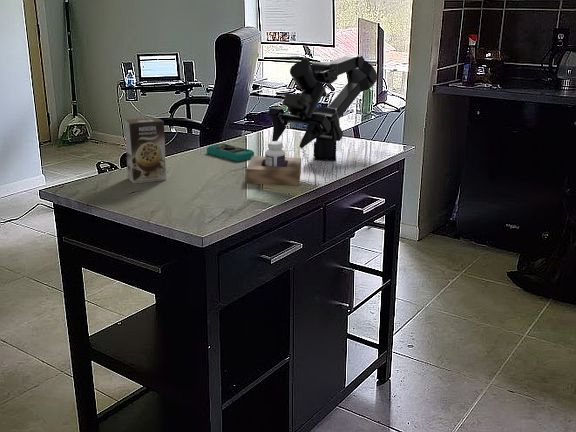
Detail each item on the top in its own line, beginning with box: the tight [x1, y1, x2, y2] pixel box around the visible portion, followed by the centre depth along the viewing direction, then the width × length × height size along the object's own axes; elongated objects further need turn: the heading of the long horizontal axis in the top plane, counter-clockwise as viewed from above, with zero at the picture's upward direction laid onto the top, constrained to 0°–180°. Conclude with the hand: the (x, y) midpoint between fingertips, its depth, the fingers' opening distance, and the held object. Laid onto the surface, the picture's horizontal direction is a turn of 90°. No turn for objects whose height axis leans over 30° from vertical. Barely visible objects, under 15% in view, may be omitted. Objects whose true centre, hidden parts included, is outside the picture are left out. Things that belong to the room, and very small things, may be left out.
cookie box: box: [124, 117, 167, 184], centre depth 169 cm, size 9×6×16 cm
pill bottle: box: [264, 140, 286, 167], centre depth 175 cm, size 5×5×10 cm
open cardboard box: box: [245, 155, 302, 186], centre depth 175 cm, size 14×14×4 cm
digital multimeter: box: [206, 143, 255, 163], centre depth 198 cm, size 7×15×3 cm, turn 48°
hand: (286, 144), depth 178 cm, fingers open, 9 cm apart
